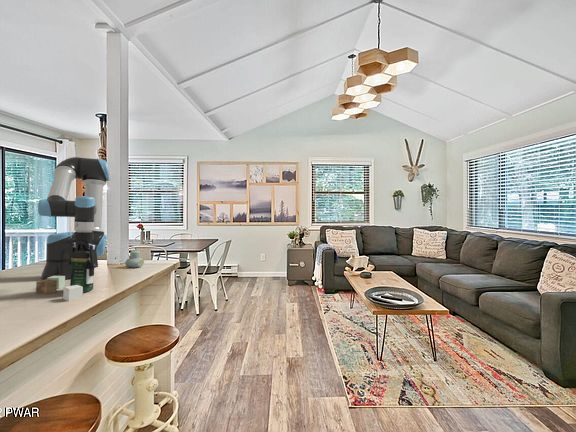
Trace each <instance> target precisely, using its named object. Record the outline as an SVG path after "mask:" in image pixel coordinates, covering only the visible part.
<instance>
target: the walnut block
mask: <svg viewBox="0 0 576 432" xmlns="http://www.w3.org/2000/svg"><path fill="white" fill-rule="evenodd" d="M35 284H36V286H35V294H40V295H41V294H42V295H48V294H52V293H55V292H57V289H56V287H57V280H49V279H46V280H44V279H41V280H38V281H36V283H35Z"/></svg>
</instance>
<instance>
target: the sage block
mask: <svg viewBox="0 0 576 432" xmlns="http://www.w3.org/2000/svg"><path fill="white" fill-rule="evenodd" d="M47 279H49V280H57V287H56V290H60V289H61V288H64V287H66V286H65V285H66V279H65V276H51V277H48V278H47Z"/></svg>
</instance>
